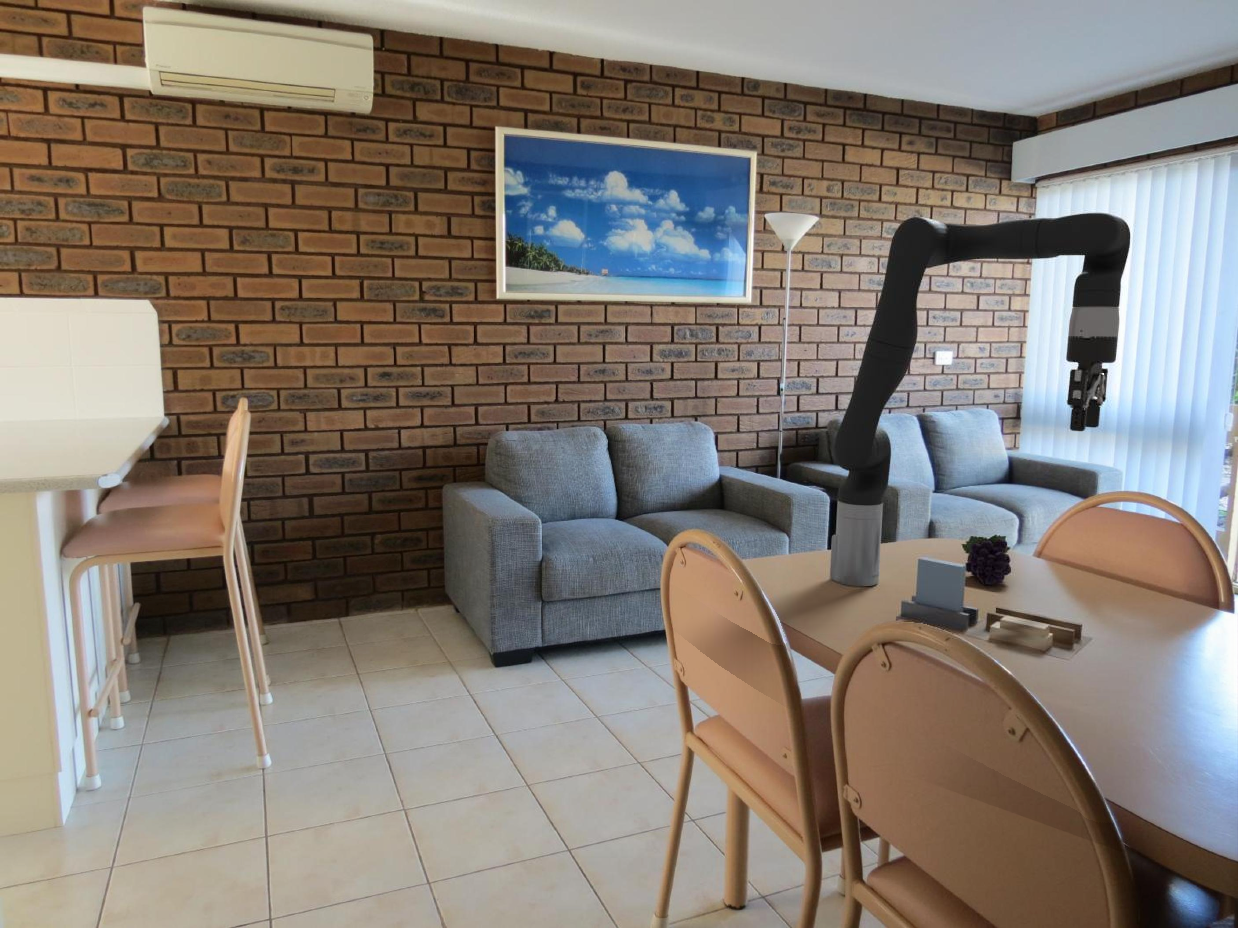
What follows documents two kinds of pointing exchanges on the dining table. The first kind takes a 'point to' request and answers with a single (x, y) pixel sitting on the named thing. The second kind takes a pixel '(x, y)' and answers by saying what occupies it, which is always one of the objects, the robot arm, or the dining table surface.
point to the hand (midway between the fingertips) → (1084, 429)
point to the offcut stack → (1022, 632)
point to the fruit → (987, 558)
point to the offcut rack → (1063, 631)
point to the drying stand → (939, 615)
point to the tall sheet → (940, 584)
